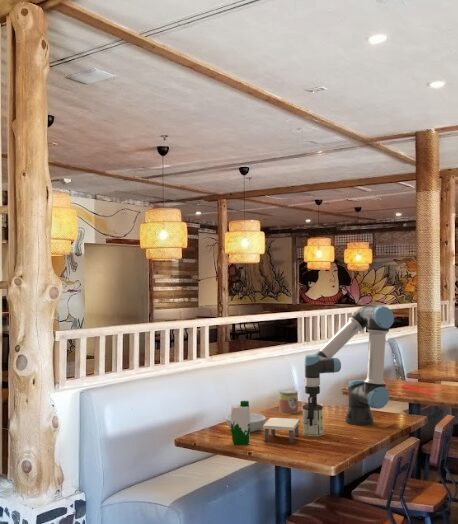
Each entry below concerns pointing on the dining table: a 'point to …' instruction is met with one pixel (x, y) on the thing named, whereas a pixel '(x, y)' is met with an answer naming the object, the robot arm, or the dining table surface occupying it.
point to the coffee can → (317, 421)
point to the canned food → (288, 401)
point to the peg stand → (281, 427)
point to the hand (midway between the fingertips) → (312, 429)
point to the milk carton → (240, 423)
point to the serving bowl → (251, 421)
